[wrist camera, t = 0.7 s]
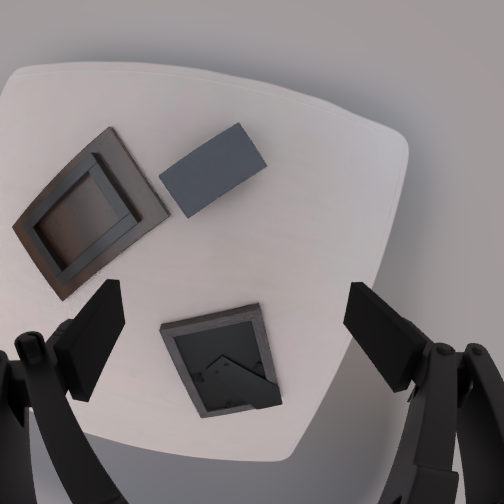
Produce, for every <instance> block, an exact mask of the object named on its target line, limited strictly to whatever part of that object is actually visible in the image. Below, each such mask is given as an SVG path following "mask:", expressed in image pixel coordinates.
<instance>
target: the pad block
mask: <svg viewBox="0 0 504 504" xmlns="http://www.w3.org/2000/svg"><path fill="white" fill-rule="evenodd" d="M265 167H267V165H266V163H265V161H264V160H263V158H262V157H261V155H260V154H259V152H258V151H257V149H256V147H255V146H254V144H253V143H252V141H251V140H250V138H249V137H248V135H247V134H246V132H245V131H244V129H243V128H242V126H241V125H240V123H237V124H235V125H233V126H232V127H230V128H229V129H227V130H225V131H224V132H222V133H221V134H219V135H217V136H216V137H214V138H213V139H211V140H210V141H208V142H206V143H205V144H203V145H202V146H200V147H199V148H197V149H196V150H194V151H193V152H191V153H190V154H189V155H187V156H186V157H184V158H183V159H181V160H180V161H178V162H177V163H176V164H174V165H173V166H171V167H170V168H169V169H167V170H166V171H164V172H163V173H162V174H160V175H159V178H160V179H161V181H162V182H163V184H164V185H165V186H166V188H167V189H168V191H169V192H170V194H171V195H172V197H173V198H174V200H175V201H176V202H177V204H178V205H179V207H180V208H181V210H182V211H183V212H184V214H185V215H186V217H187V218H189V217H191V216H192V215H194V214H195V213H197V212H198V211H200V210H201V209H202V208H204V207H205V206H207V205H208V204H210V203H211V202H213V201H214V200H216V199H217V198H219V197H220V196H222V195H223V194H225V193H226V192H228V191H229V190H231V189H232V188H234V187H235V186H237V185H239V184H240V183H242V182H243V181H245V180H246V179H248V178H249V177H251V176H253V175H254V174H256V173H257V172H259V171H261V170H262V169H264V168H265Z"/></svg>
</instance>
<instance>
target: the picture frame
mask: <svg viewBox="0 0 504 504" xmlns="http://www.w3.org/2000/svg"><path fill="white" fill-rule="evenodd" d="M159 331H160V333H161V336H162V338H163V340H164V343H165V345H166V347H167V350H168V352H169V354H170V356H171V358H172V361H173V363H174V365H175V367H176V369H177V371H178V374H179V376H180V378H181V380H182V382H183V384H184V386H185V388H186V390H187V392H188V394H189V396H190V398H191V400H192V402H193V404H194V406H195V408H196V409H197V411H198V413H199V415H200V417H201V418H207V417H214V416H220V415H226V414H231V413H237V412H242V411H247V410H252V409H262V408H267V407H272V406H277V405H281V404H282V399H281V395H280V391H279V387H278V383H277V378H276V374H275V370H274V365H273V361H272V357H271V353H270V348H269V344H268V340H267V335H266V331H265V327H264V322H263V318H262V314H261V309H260V306H259V303H256V304H252V305H248V306H244V307H240V308H235V309H231V310H227V311H222V312H218V313H213V314H209V315H204V316H200V317H195V318H190V319H186V320H181V321H176V322H171V323H166V324H161V327H160V330H159Z"/></svg>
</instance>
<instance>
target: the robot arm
mask: <svg viewBox="0 0 504 504" xmlns="http://www.w3.org/2000/svg"><path fill="white" fill-rule="evenodd" d="M343 324H344V325H345V326H346V328H347V329H348V330H349V332H350V333H351V334H352V336H353V337H354V338H355V340H356V341H357V342H358V344H359V345H360V346H361V348H362V349H363V350H364V352H365V353H366V354H367V355H368V357H369V359H370V360H371V361H372V363H373V364H374V365H375V367H376V368H377V369H378V371H379V372H380V373H381V375H382V376H383V378H384V379H385V381H386V382H387V383H388V385H389V386H390V387H391V389H392V390H393V392H394V393H396V392H399V391H403V390H407V388H408V386H409V384H410V382H411V380H413V381H414V383H415V384H416V385H415V387H414V389H413V391H412V393H411V395H410V397H409V399H408V401H407V402H410V405H409V410H408V414H407V418H406V422H405V426H404V430H403V433H402V437H401V440H400V444H399V447H398V451H397V454H396V457H395V460H394V463H393V465H392V468H391V471H390V474H389V477H388V479H387V482H386V485H385V487H384V490H383V492H382V495H381V497H380V500H379V502H378V504H455V499H456V493H457V488H458V481H459V474H458V472H454V471H452V464H453V455H454V447H455V437H456V433H457V438H458V443H459V449H460V454H461V461H462V468H463V476H464V485H465V496H466V504H504V382H503V379H502V378H501V375H500V373H499V371H498V369H497V367H496V366H495V364H494V362H493V360H492V358H491V357H490V354H489V353H488V351H487V350H486V348H484V347H483V346H482V345H479V344H476V343H470V344H468V345H467V347H466V349H465V352H455V350H454V349H453V347H451V346H450V345H447V344H444V343H434V342H433V341H431V340H430V339H429V338H428V337H427V336H426V335H425V334H424V333H422V332H421V330H420V329H418V328H417V327H416V326H415V325H414V324H413V323H412V322H411V321H409V320H407V319H405V318H402V317H401V316H400V315H399V314H398V313H397V312H396V311H394V310H393V309H392V308H391V307H390V306H389V305H388V304H387V303H386V302H385V301H383V300H382V299H381V298H380V297H379V296H378V295H377V294H376V293H374V292H373V291H372V290H371V289H370V288H369V287H368V286H366V285H365V284H364V283H363V282H351V287H350V292H349V298H348V303H347V307H346V312H345V317H344V322H343ZM124 325H125V318H124V311H123V304H122V297H121V289H120V281H119V280H114V279H107V280H106V281H105V282H104V283H103V284H102V286H101V287H100V288H99V289H98V290H97V291H96V293H95V294H94V295H93V296H92V297H91V299H90V300H89V301H88V302H87V303H86V305H85V306H84V307H83V308H82V309H81V311H80V312H79V313H78V314H77V316H76V317H75V318H74V319H68V320H66V321H64V322H63V323H61V324H60V325H59V327H58V328H57V329H56V331H54V333H53V334H52V335H51V336H50V338H49V339H48V340H47V341H46V343H45V342H44V338H43V336H42V334H41V333H39V332H35V331H30V332H26V333H23V334H21V335H20V336H18V337H17V338H16V340H15V343H14V345H15V347H16V350H17V353H18V355H19V358H20V360H13V361H9V359H8V356H7V354H6V353H5V352H4V351H2V350H0V504H37V501H36V495H35V489H34V482H33V474H32V466H31V455H30V439H29V407H32V408H33V411H34V415H35V418H36V420H37V424H38V427H39V430H40V433H41V435H42V438H43V441H44V443H45V446H46V449H47V451H48V453H49V456H50V458H51V461H52V463H53V465H54V467H55V470H56V472H57V474H58V476H59V478H60V480H61V482H62V484H63V486H64V488H65V490H66V492H67V494H68V496H69V498H70V500H71V501H72V503H73V504H129V503H128V502H127V500H126V499H125V498H124V496H123V495H122V494H121V492H120V491H119V489H118V488H117V487H116V485H115V484H114V482H113V481H112V479H111V478H110V477H109V475H108V474H107V472H106V471H105V469H104V467H103V466H102V465H101V463H100V461H99V459H98V458H97V456H96V454H95V453H94V451H93V449H92V448H91V446H90V444H89V442H88V441H87V439H86V437H85V435H84V433H83V431H82V429H81V428H80V426H79V424H78V422H77V420H76V418H75V416H74V414H73V412H72V410H71V407H70V405H69V403H68V401H67V399H66V396H65V395H66V393H67V391H68V390H69V392H70V394H71V396H72V399H74V400H79V401H84V402H89V399H90V397H91V395H92V392H93V390H94V388H95V386H96V383H97V381H98V379H99V377H100V375H101V372H102V370H103V368H104V366H105V364H106V362H107V359H108V357H109V355H110V353H111V351H112V349H113V347H114V345H115V343H116V341H117V339H118V337H119V335H120V333H121V331H122V329H123V327H124ZM410 400H411V401H410Z"/></svg>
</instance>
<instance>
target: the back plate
mask: <svg viewBox="0 0 504 504" xmlns="http://www.w3.org/2000/svg"><path fill="white" fill-rule="evenodd" d="M169 216H170V213H169V212H168V210H167V209H166V207H165V206H164V204H163V203H162V202H161V200H160V199H159V197H158V196H157V194H156V193H155V191H154V190H153V189H152V187H151V186H150V184H149V183H148V181H147V180H146V178H145V177H144V175H143V174H142V172H141V171H140V169H139V168H138V166H137V165H136V163H135V162H134V160H133V159H132V157H131V156H130V154H129V153H128V151H127V150H126V148H125V147H124V145H123V144H122V142H121V140H120V139H119V137H118V136H117V134H116V133H115V131H114V130H113V128H112V127H108V128H107V129H106V130H105V131H103V132H102V133H101V134H100V135H99V136H98V137H97V138H95V139H94V140H93V141H92V142H91V143H90V144H89V145H87V146H86V147H85V148H84V149H83V150H82V151H81V152H80V153H79V154H78V155H77V156H76V157H75V158H74V159H72V160H71V161H70V162H69V163H68V164H67V165H66V166H65V167H64V168H63V169H62V170H61V171H60V172H59V173H58V174H57V175H56V177H55V178H54V179H53V180H52V181H51V182H50V183H49V184H48V185H47V186H46V187H45V188H44V189H43V191H42V192H41V193H40V194H39V195H38V196H37V197H36V198H35V200H34V201H33V202H32V203H31V204H30V205H29V207H28V208H27V209H26V210H25V211H24V213H23V214H22V215H21V216H20V218H19V219H18V220H17V221H16V223H15V224H14V225H13V227H12V228H13V229H14V231H15V233H16V235H17V236H18V238H19V240H20V241H21V243H22V244H23V246H24V248H25V249H26V251H27V252H28V254H29V255H30V257H31V259H32V260H33V262H34V263H35V265H36V266H37V268H38V269H39V270H40V272H41V273H42V275H43V276H44V278H45V279H46V280H47V282H48V283H49V285H50V286H51V287H52V289H53V290H54V291H55V293H56V294H57V295H58V297H59V298H60V299H61V300H62V301H64V300H65V299H66V298H67V297H68V296H69V295H71V294H72V293H73V292H74V291H75V290H76V289H77V288H79V287H80V286H81V285H82V284H83V283H84V282H86V281H87V280H88V279H89V278H90V277H92V276H93V275H94V274H95V273H96V272H98V271H99V270H100V269H101V268H102V267H104V266H105V265H106V264H107V263H109V262H110V261H111V260H112V259H114V258H115V257H116V256H117V255H119V254H120V253H121V252H122V251H124V250H125V249H126V248H128V247H129V246H130V245H131V244H133V243H134V242H135V241H137V240H138V239H139V238H141V237H142V236H143V235H145V234H146V233H147V232H149V231H150V230H151V229H153V228H154V227H155V226H157V225H158V224H159V223H161V222H162V221H163V220H165V219H166V218H168V217H169Z"/></svg>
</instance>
